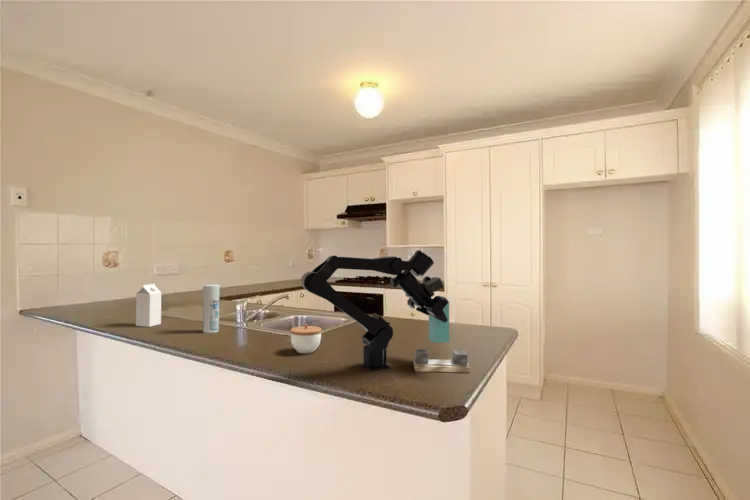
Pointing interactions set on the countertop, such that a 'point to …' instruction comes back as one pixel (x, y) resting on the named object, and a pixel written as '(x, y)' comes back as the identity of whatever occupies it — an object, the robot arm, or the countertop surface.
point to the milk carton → (148, 306)
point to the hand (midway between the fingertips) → (442, 320)
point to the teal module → (439, 328)
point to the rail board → (441, 362)
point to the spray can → (211, 308)
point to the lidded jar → (305, 338)
